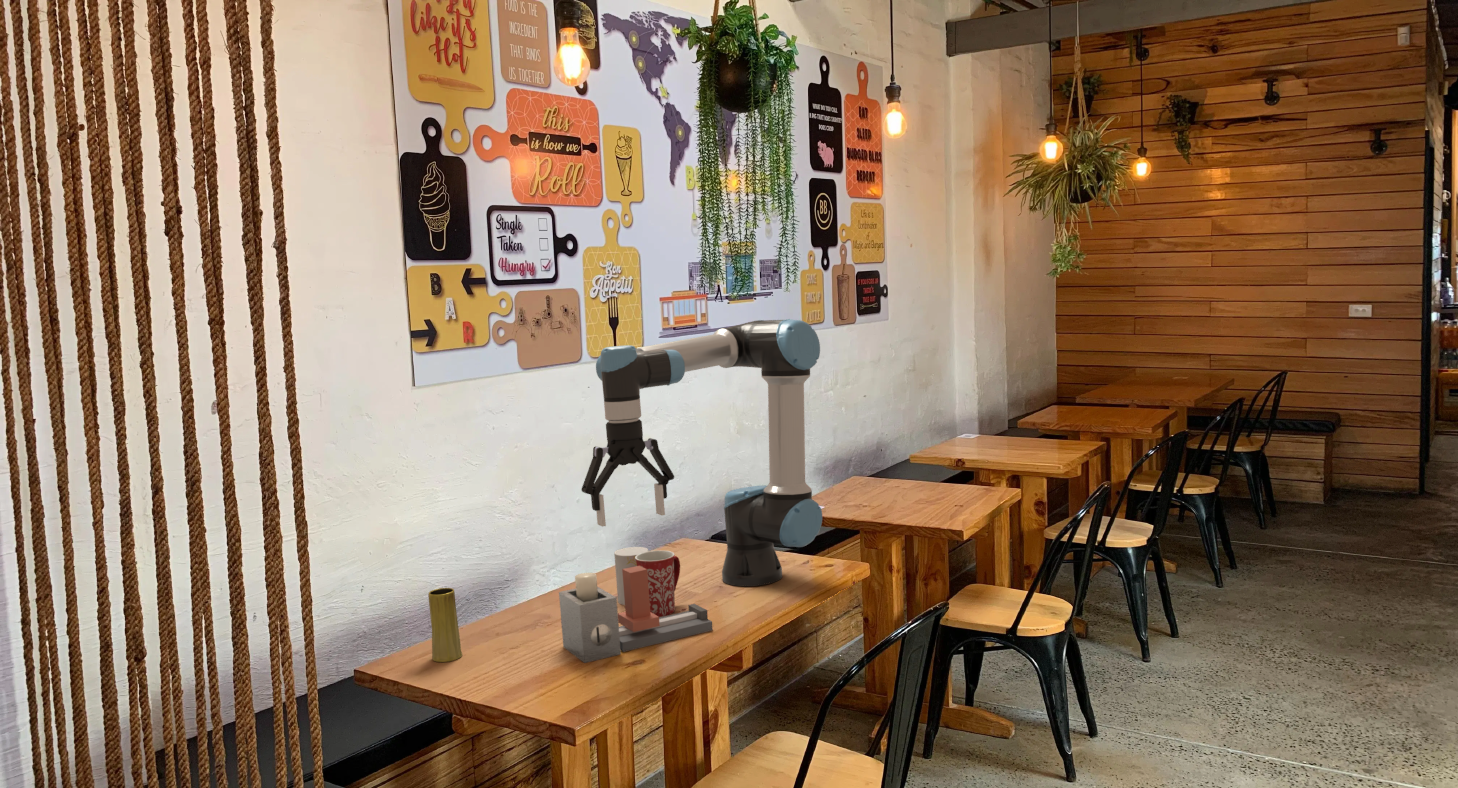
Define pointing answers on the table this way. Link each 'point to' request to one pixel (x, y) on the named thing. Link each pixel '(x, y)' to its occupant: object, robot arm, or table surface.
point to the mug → (661, 579)
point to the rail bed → (667, 629)
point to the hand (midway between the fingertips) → (631, 519)
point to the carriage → (637, 601)
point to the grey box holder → (590, 625)
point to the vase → (444, 625)
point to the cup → (625, 566)
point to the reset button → (586, 587)
